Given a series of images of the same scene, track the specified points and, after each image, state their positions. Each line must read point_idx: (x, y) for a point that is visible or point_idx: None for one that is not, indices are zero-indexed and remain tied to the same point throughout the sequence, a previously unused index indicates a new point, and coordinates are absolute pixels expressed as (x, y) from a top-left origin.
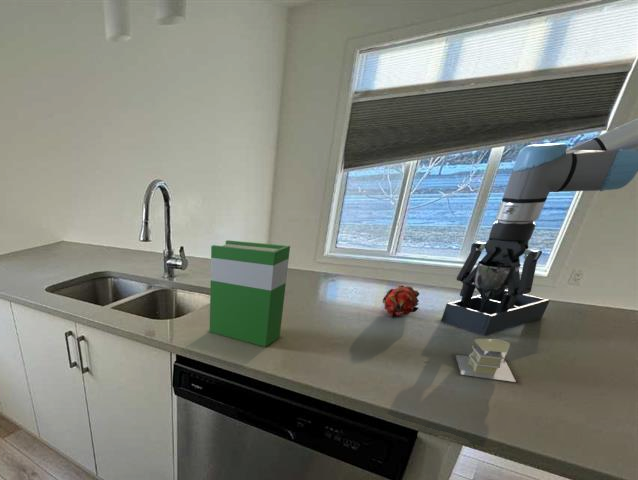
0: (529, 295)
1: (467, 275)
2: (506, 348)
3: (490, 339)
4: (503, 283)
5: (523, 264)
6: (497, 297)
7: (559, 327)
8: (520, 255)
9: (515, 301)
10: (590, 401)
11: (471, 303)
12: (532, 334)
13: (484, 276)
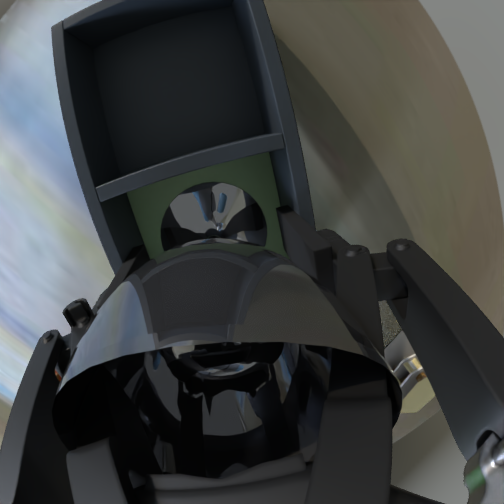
0: None
1: (57, 353)
2: None
3: (409, 393)
4: (326, 362)
5: (454, 435)
6: (78, 55)
7: (322, 24)
8: (425, 502)
9: (343, 241)
10: (488, 301)
11: (117, 218)
12: (344, 143)
13: (256, 445)
